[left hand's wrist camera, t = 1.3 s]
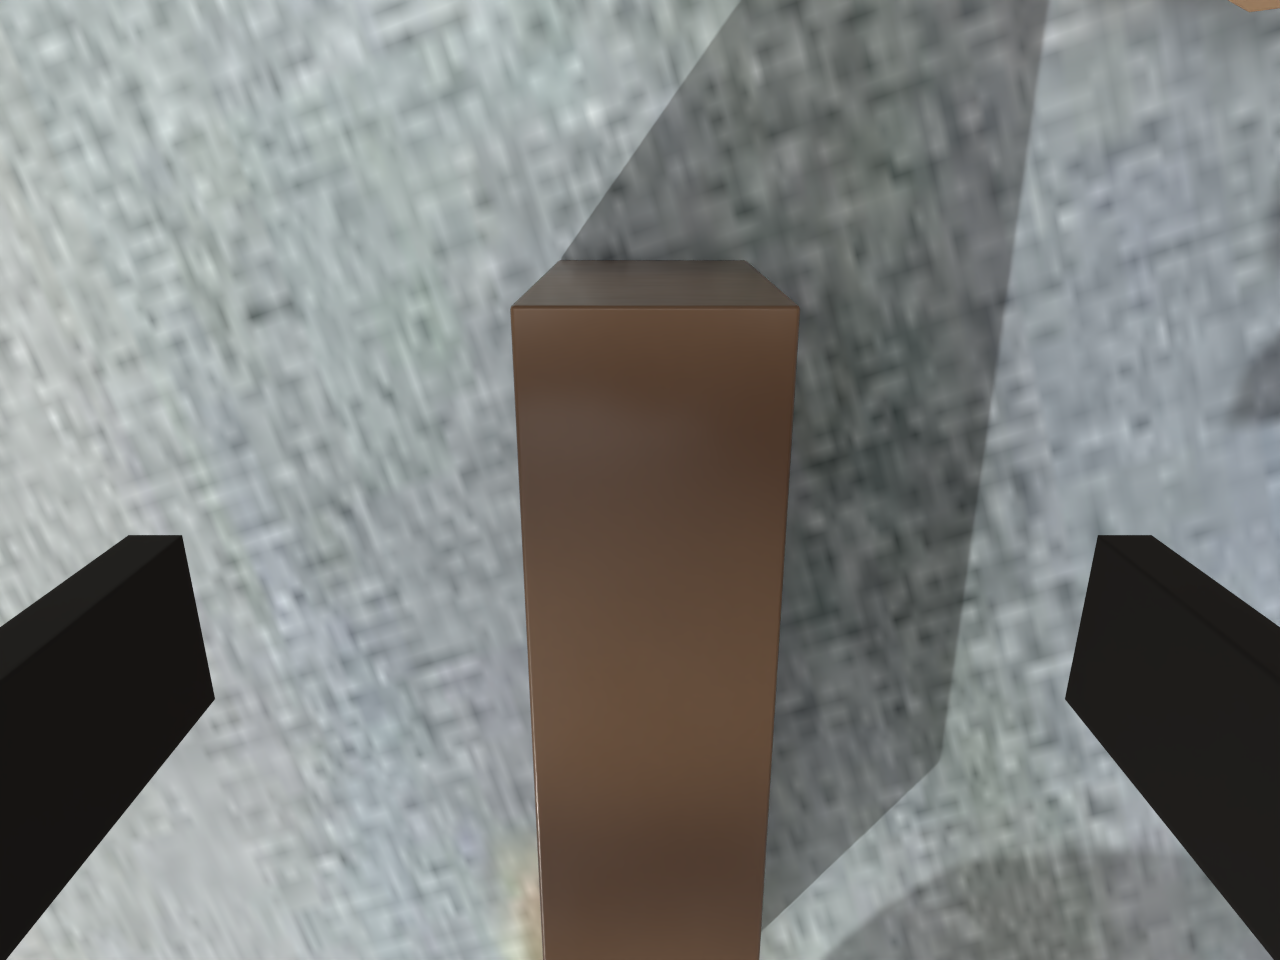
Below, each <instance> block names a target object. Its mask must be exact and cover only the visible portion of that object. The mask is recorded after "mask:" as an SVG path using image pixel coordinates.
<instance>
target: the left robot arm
mask: <svg viewBox="0 0 1280 960" xmlns="http://www.w3.org/2000/svg"><path fill="white" fill-rule="evenodd" d="M214 700H215V697H214V692H213V687H212V682H211V677H210V672H209V667H208V662H207V657H206V652H205V647H204V642H203V637H202V632H201V627H200V622H199V617H198V612H197V607H196V602H195V597H194V592H193V587H192V582H191V577H190V572H189V567H188V563H187V558H186V553H185V548H184V543H183V538H182V535H128V536H127V537H125V538H124V539H123V540H121V541H120V542H118V543H117V544H116V545H114V546H113V547H112V548H110V549H109V550H107V551H106V552H105V553H103V554H102V555H100V556H99V557H98V558H96V559H95V560H93V561H92V562H91V563H89V564H88V565H86V566H85V567H84V568H82V569H81V570H79V571H78V572H77V573H75V574H74V575H72V576H71V577H70V578H68V579H67V580H65V581H64V582H63V583H61V584H60V585H58V586H57V587H56V588H54V589H53V590H52V591H50V592H49V593H47V594H46V595H45V596H43V597H42V598H40V599H39V600H38V601H36V602H35V603H33V604H32V605H31V606H29V607H28V608H26V609H25V610H24V611H22V612H21V613H19V614H18V615H17V616H15V617H14V618H12V619H11V620H10V621H8V622H7V623H5V624H4V625H3V626H1V627H0V960H6V959H7V958H8V957H9V955H10V954H11V953H12V952H13V950H14V949H15V948H16V947H17V945H18V944H19V943H20V942H21V940H22V939H23V938H24V937H25V935H26V934H27V933H28V932H29V930H30V929H31V928H32V927H33V925H34V924H35V923H36V922H37V920H38V919H39V918H40V917H41V915H42V914H43V913H44V912H45V910H46V909H47V908H48V907H49V905H50V904H51V903H52V902H53V900H54V899H55V898H56V897H57V895H58V894H59V893H60V892H61V890H62V889H63V888H64V887H65V885H66V884H67V883H68V882H69V880H70V879H71V878H72V877H73V876H74V874H75V873H76V872H77V871H78V869H79V868H80V867H81V866H82V864H83V863H84V862H85V861H86V859H87V858H88V857H89V856H90V854H91V853H92V852H93V851H94V849H95V848H96V847H97V846H98V844H99V843H100V842H101V841H102V839H103V838H104V837H105V836H106V834H107V833H108V832H109V831H110V829H111V828H112V827H113V826H114V824H115V823H116V822H117V821H118V819H119V818H120V817H121V816H122V814H123V813H124V812H125V811H126V809H127V808H128V807H129V806H130V804H131V803H132V802H133V801H134V799H135V798H136V797H137V796H138V794H139V793H140V792H141V791H142V789H143V788H144V787H145V786H146V784H147V783H148V782H149V781H150V779H151V778H152V777H153V776H154V774H155V773H156V772H157V771H158V769H159V768H160V767H161V766H162V764H163V763H164V762H165V761H166V759H167V758H168V757H169V756H170V754H171V753H172V752H173V751H174V750H175V748H176V747H177V746H178V745H179V743H180V742H181V741H182V740H183V738H184V737H185V736H186V735H187V733H188V732H189V731H190V730H191V728H192V727H193V726H194V725H195V723H196V722H197V721H198V720H199V718H200V717H201V716H202V715H203V713H204V712H205V711H206V710H207V708H208V707H209V706H210V705H211V703H212V702H213V701H214ZM1065 700H1066V701H1067V702H1068V703H1069V705H1070V706H1071V707H1072V708H1073V710H1074V711H1075V712H1076V713H1077V715H1078V716H1079V717H1080V718H1081V720H1082V721H1083V722H1084V723H1085V725H1086V726H1087V727H1088V728H1089V730H1090V731H1091V732H1092V733H1093V735H1094V736H1095V737H1096V738H1097V740H1098V741H1099V742H1100V743H1101V745H1102V746H1103V747H1104V748H1105V750H1106V751H1107V752H1108V753H1109V754H1110V756H1111V757H1112V758H1113V759H1114V761H1115V762H1116V763H1117V764H1118V766H1119V767H1120V768H1121V769H1122V771H1123V772H1124V773H1125V774H1126V776H1127V777H1128V778H1129V779H1130V781H1131V782H1132V783H1133V784H1134V786H1135V787H1136V788H1137V789H1138V791H1139V792H1140V793H1141V794H1142V796H1143V797H1144V798H1145V799H1146V801H1147V802H1148V803H1149V804H1150V806H1151V807H1152V808H1153V809H1154V811H1155V812H1156V813H1157V814H1158V816H1159V817H1160V818H1161V819H1162V821H1163V822H1164V823H1165V824H1166V826H1167V827H1168V828H1169V829H1170V831H1171V832H1172V833H1173V834H1174V836H1175V837H1176V838H1177V839H1178V841H1179V842H1180V843H1181V844H1182V846H1183V847H1184V848H1185V849H1186V851H1187V852H1188V853H1189V854H1190V856H1191V857H1192V858H1193V859H1194V861H1195V862H1196V863H1197V864H1198V866H1199V867H1200V868H1201V869H1202V871H1203V872H1204V873H1205V874H1206V876H1207V877H1208V878H1209V879H1210V880H1211V882H1212V883H1213V884H1214V885H1215V887H1216V888H1217V889H1218V890H1219V892H1220V893H1221V894H1222V895H1223V897H1224V898H1225V899H1226V900H1227V902H1228V903H1229V904H1230V905H1231V907H1232V908H1233V909H1234V910H1235V912H1236V913H1237V914H1238V915H1239V917H1240V918H1241V919H1242V920H1243V922H1244V923H1245V924H1246V925H1247V927H1248V928H1249V929H1250V930H1251V932H1252V933H1253V934H1254V935H1255V937H1256V938H1257V939H1258V940H1259V942H1260V943H1261V944H1262V945H1263V947H1264V948H1265V949H1266V950H1267V952H1268V953H1269V954H1270V955H1271V957H1272V958H1273V959H1274V960H1280V627H1279V626H1277V625H1276V624H1275V623H1273V622H1272V621H1270V620H1269V619H1268V618H1266V617H1265V616H1263V615H1262V614H1261V613H1259V612H1258V611H1256V610H1255V609H1254V608H1252V607H1251V606H1249V605H1248V604H1247V603H1245V602H1244V601H1242V600H1241V599H1240V598H1238V597H1237V596H1235V595H1234V594H1233V593H1231V592H1230V591H1228V590H1227V589H1226V588H1224V587H1223V586H1222V585H1220V584H1219V583H1217V582H1216V581H1215V580H1213V579H1212V578H1210V577H1209V576H1208V575H1206V574H1205V573H1203V572H1202V571H1201V570H1199V569H1198V568H1196V567H1195V566H1194V565H1192V564H1191V563H1189V562H1188V561H1187V560H1185V559H1184V558H1182V557H1181V556H1180V555H1178V554H1177V553H1175V552H1174V551H1173V550H1171V549H1170V548H1168V547H1167V546H1166V545H1164V544H1163V543H1162V542H1160V541H1159V540H1157V539H1156V538H1155V537H1153V536H1152V535H1098V538H1097V543H1096V548H1095V553H1094V558H1093V563H1092V567H1091V572H1090V577H1089V582H1088V587H1087V592H1086V597H1085V602H1084V607H1083V612H1082V617H1081V622H1080V627H1079V632H1078V637H1077V642H1076V647H1075V652H1074V657H1073V662H1072V667H1071V672H1070V677H1069V682H1068V687H1067V692H1066V697H1065Z"/></svg>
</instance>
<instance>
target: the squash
mask: <svg viewBox="0 0 1280 960" xmlns="http://www.w3.org/2000/svg"><path fill="white" fill-rule="evenodd" d="M1228 1H1230V2H1232V3H1234V4H1236V5H1237V6H1239V7H1241V8H1243V9H1244V10H1246V11H1248V12H1254V11H1261V10H1269V9H1276V8H1280V0H1228Z"/></svg>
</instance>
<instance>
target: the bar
mask: <svg viewBox="0 0 1280 960" xmlns="http://www.w3.org/2000/svg"><path fill="white" fill-rule="evenodd" d="M510 312H511V332H512V352H513V371H514V391H515V411H516V431H517V451H518V470H519V490H520V510H521V530H522V550H523V569H524V589H525V609H526V629H527V649H528V668H529V688H530V708H531V728H532V748H533V767H534V787H535V807H536V827H537V847H538V866H539V886H540V906H541V926H542V946H543V960H759V955H760V939H761V923H762V907H763V891H764V876H765V860H766V844H767V828H768V812H769V796H770V780H771V764H772V748H773V732H774V716H775V700H776V685H777V669H778V653H779V637H780V621H781V605H782V589H783V573H784V557H785V541H786V525H787V510H788V494H789V478H790V462H791V446H792V430H793V414H794V398H795V382H796V366H797V350H798V334H799V319H800V308H799V306H798V305H797V304H795V303H794V302H793V301H792V300H791V299H790V298H789V297H787V296H786V295H785V294H784V293H783V292H782V291H780V290H779V289H778V288H777V287H776V286H775V285H773V284H772V283H771V282H770V281H769V280H768V279H766V278H765V277H764V276H763V275H762V274H761V273H760V272H758V271H757V270H756V269H755V268H754V267H753V266H751V265H750V264H749V263H748V262H747V261H745V260H560V261H558V262H557V263H556V264H555V265H554V266H553V267H552V268H551V269H550V270H549V271H548V272H547V273H546V274H545V275H544V276H543V277H541V278H540V279H539V280H538V281H537V282H536V283H535V284H534V285H533V286H532V287H531V288H530V289H529V290H528V291H527V292H526V293H525V294H524V295H523V296H522V297H521V298H519V299H518V300H517V301H516V302H515V303H514V304H513V305H512V306H511V309H510Z"/></svg>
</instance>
